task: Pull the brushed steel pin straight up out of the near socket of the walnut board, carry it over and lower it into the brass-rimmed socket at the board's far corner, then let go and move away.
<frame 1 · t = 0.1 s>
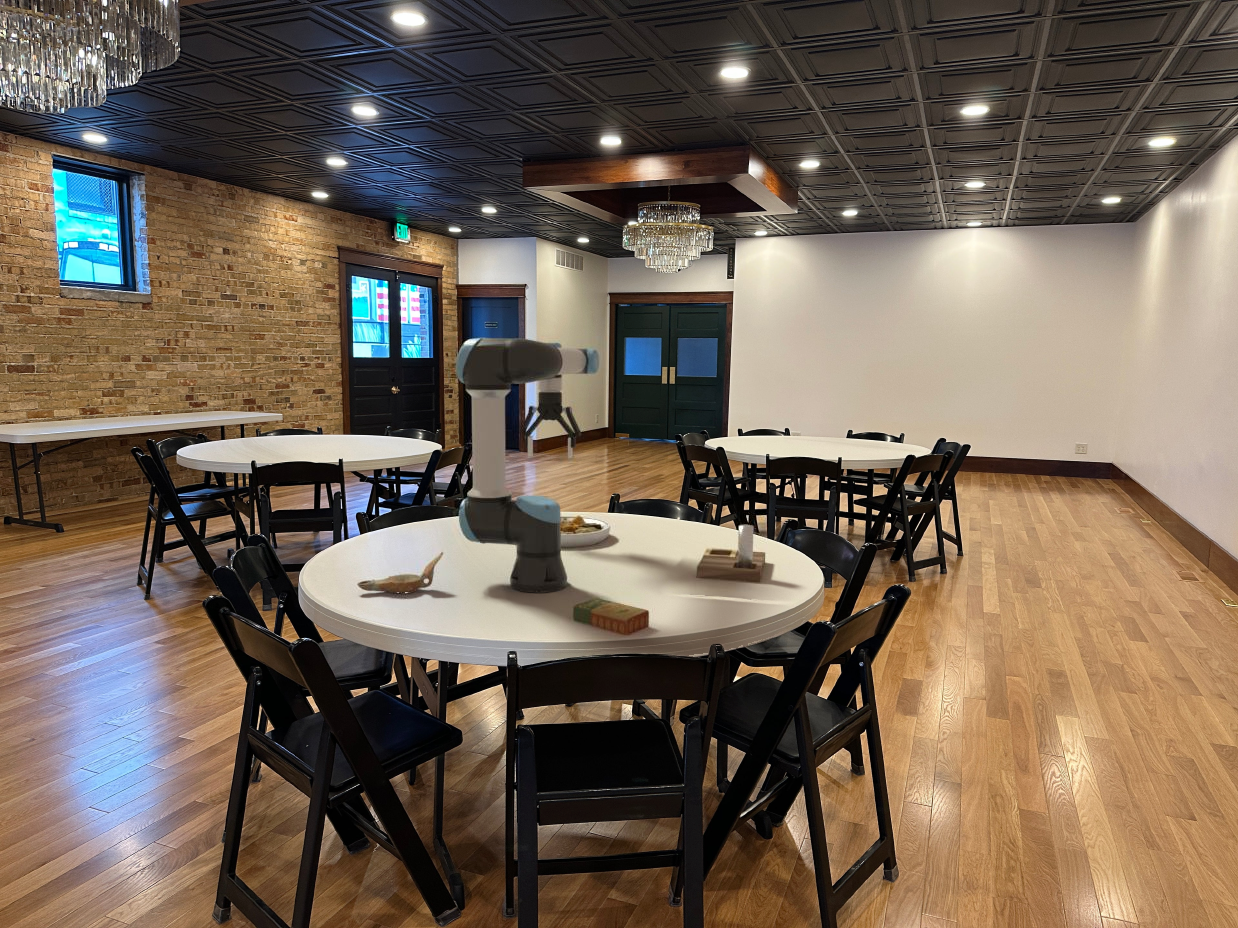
hand: (550, 457, 260), 28 cm above the table, tool pointing down, fingers open, 13 cm apart
oil lamp: (401, 592, 206), on the table
steel pin: (744, 576, 220), point 1 cm above the table, touching socket board
carton: (610, 625, 183), on the table
bowl: (565, 540, 268), on the table
socket board: (732, 573, 227), on the table
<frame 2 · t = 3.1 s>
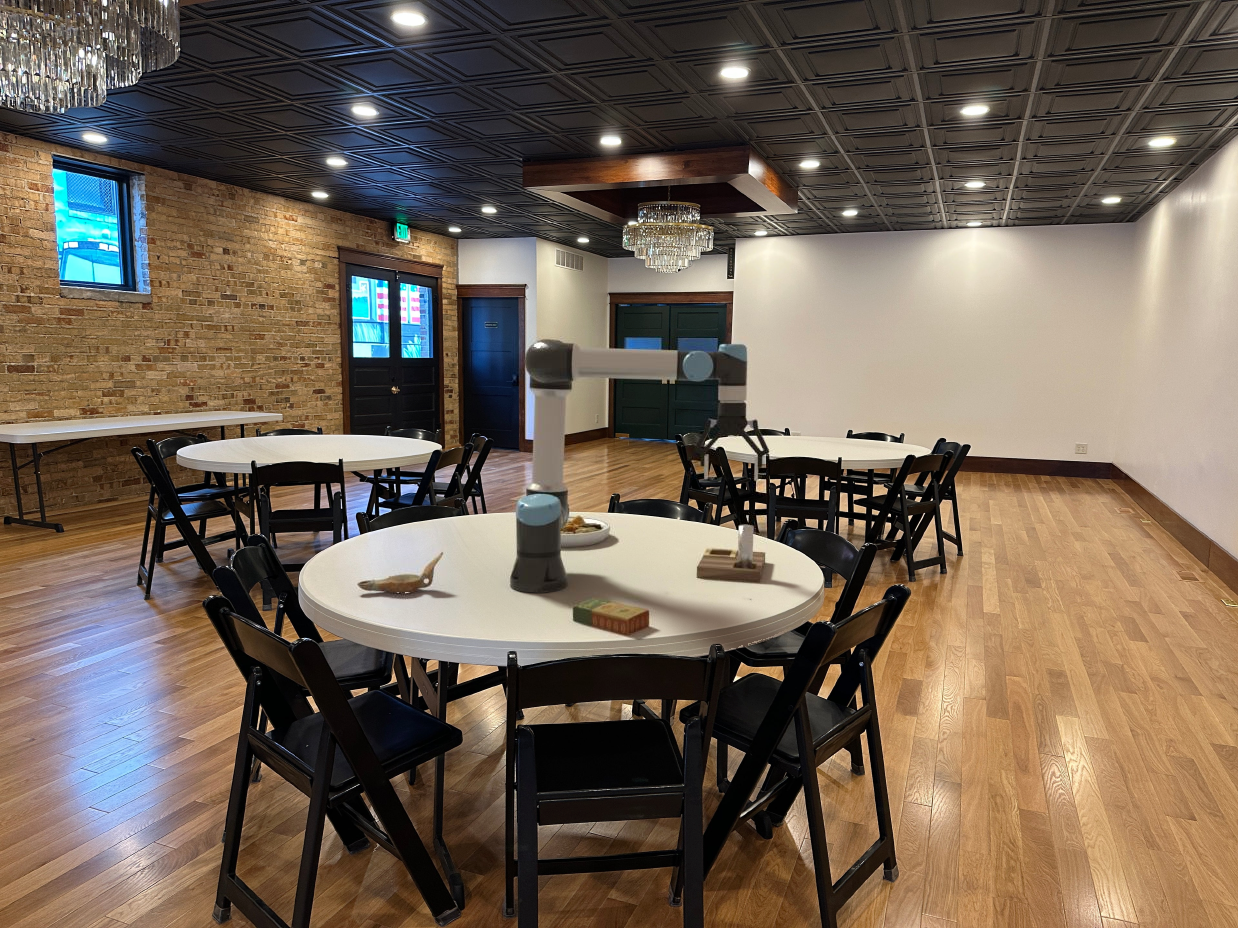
hand: (730, 479, 220), 27 cm above the table, tool pointing down, fingers open, 13 cm apart
nothing on the table moved.
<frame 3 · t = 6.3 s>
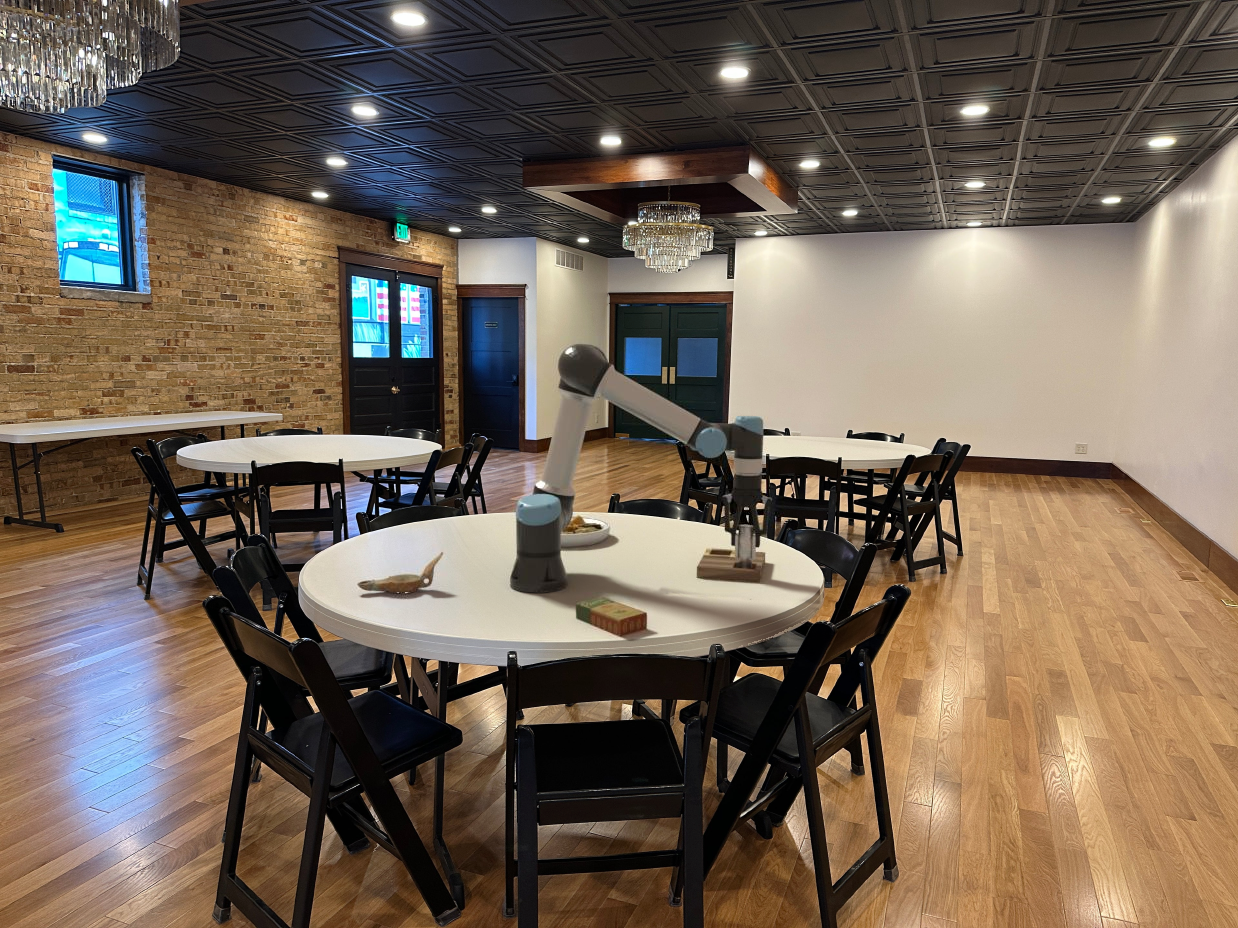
hand: (745, 557, 219), 6 cm above the table, tool pointing down, fingers closed on steel pin, 4 cm apart
steel pin: (744, 576, 220), point 1 cm above the table, touching gripper, socket board
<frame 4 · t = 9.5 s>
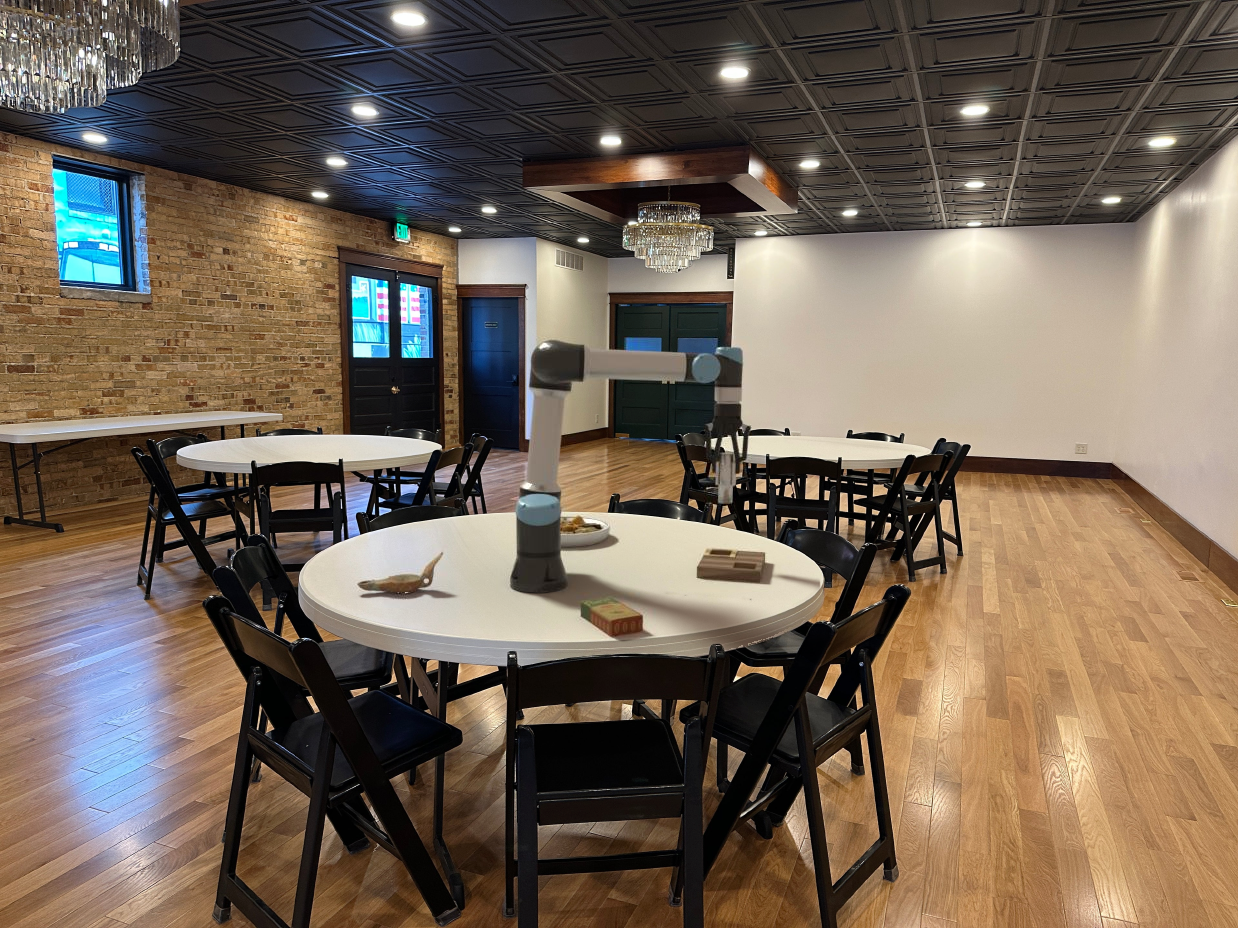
hand: (725, 484, 228), 25 cm above the table, tool pointing down, fingers closed on steel pin, 4 cm apart
steel pin: (725, 502, 229), point 19 cm above the table, touching gripper
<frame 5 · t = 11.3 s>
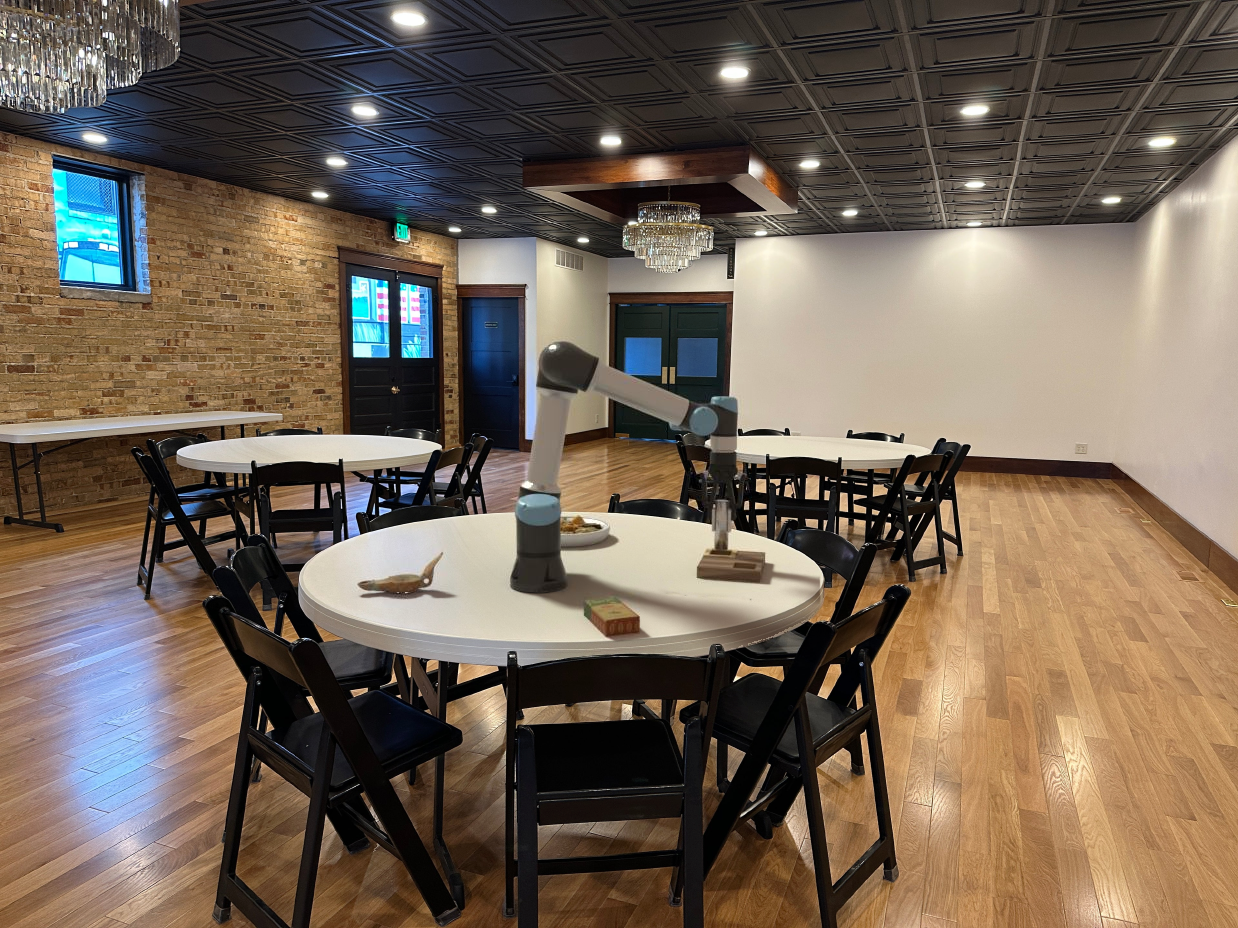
hand: (721, 530, 232), 11 cm above the table, tool pointing down, fingers closed on steel pin, 4 cm apart
steel pin: (721, 548, 233), point 5 cm above the table, touching gripper
when the fingers open (7 cm above the table, at t = 12.9 s): steel pin stays where it is, resting on socket board.
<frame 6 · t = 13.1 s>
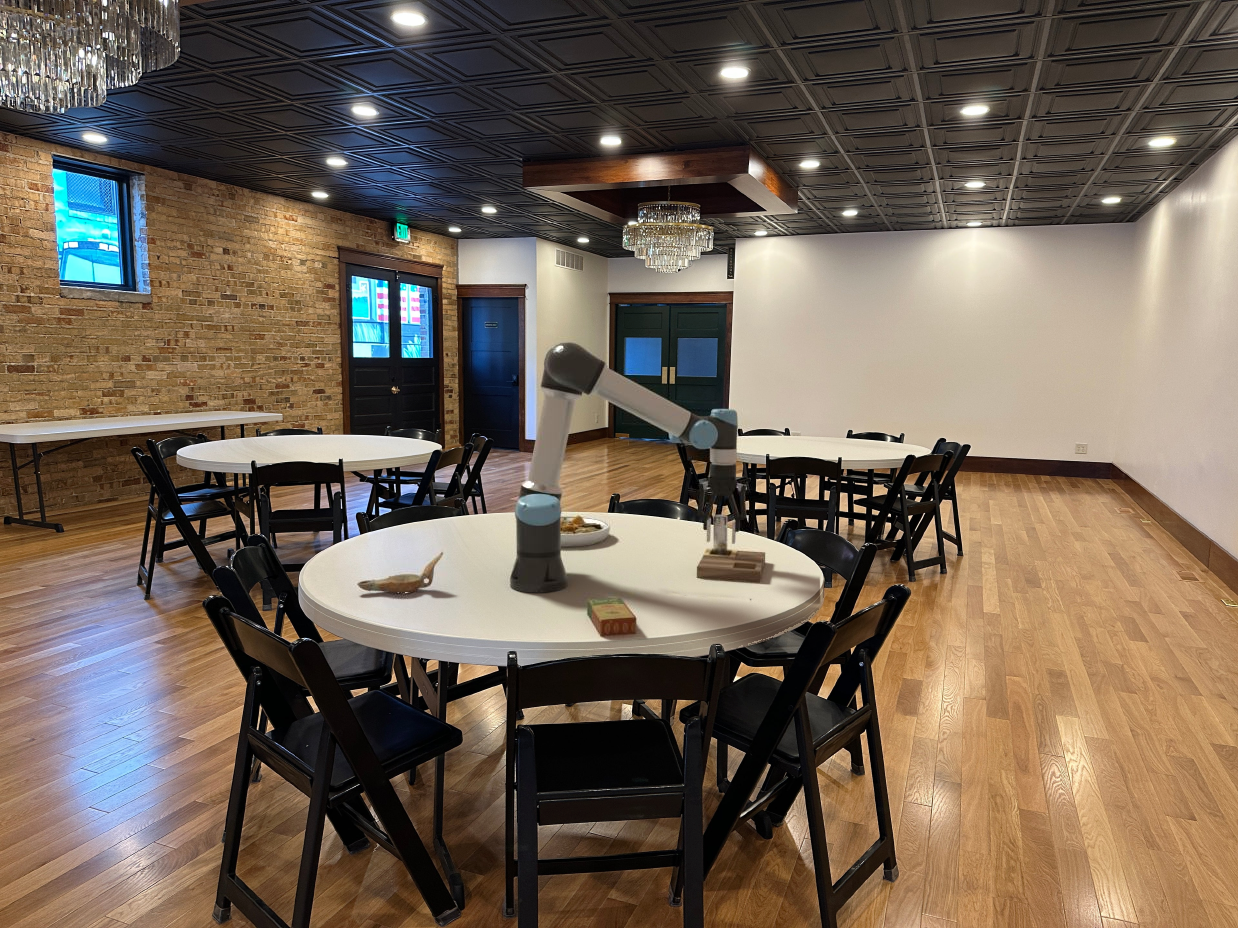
hand: (720, 541, 232), 7 cm above the table, tool pointing down, fingers open, 7 cm apart
steel pin: (720, 563, 233), point 1 cm above the table, touching socket board
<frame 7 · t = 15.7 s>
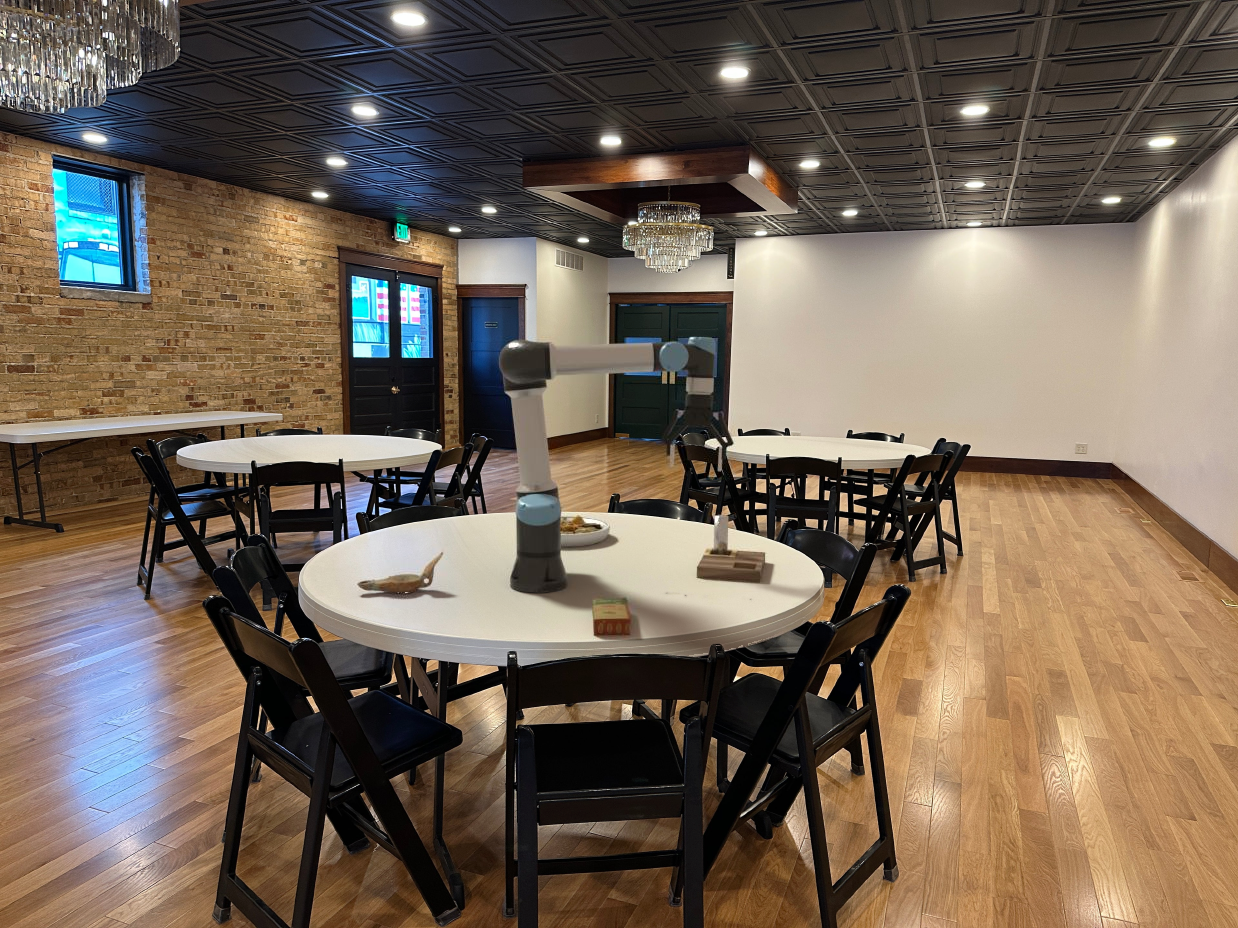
hand: (695, 469, 226), 29 cm above the table, tool pointing down, fingers open, 13 cm apart
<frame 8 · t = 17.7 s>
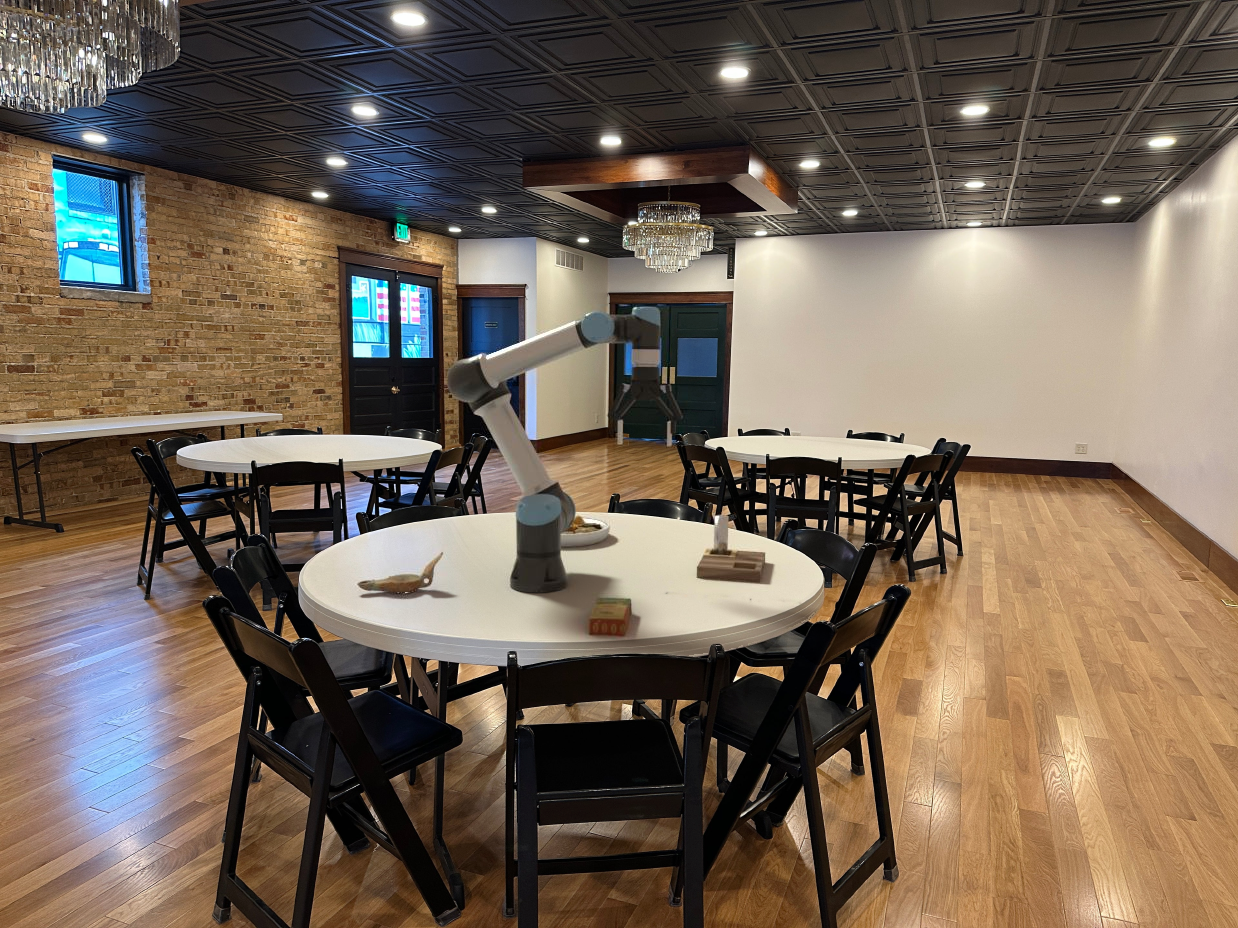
hand: (644, 445, 217), 37 cm above the table, tool pointing down, fingers open, 13 cm apart
at the end: steel pin 0.0 cm from the target spot on the socket board, point 1.0 cm above the socket board's base; steel pin tilted 0°; the gripper is holding nothing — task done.
